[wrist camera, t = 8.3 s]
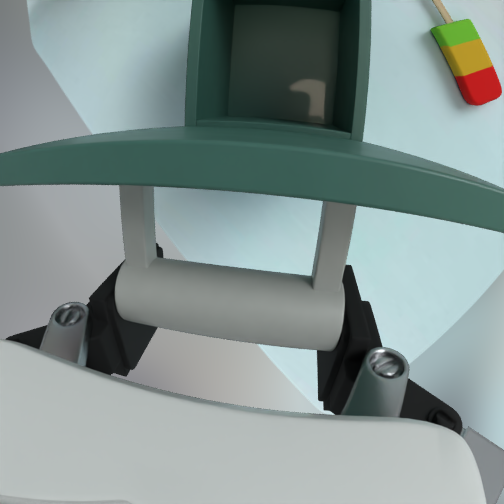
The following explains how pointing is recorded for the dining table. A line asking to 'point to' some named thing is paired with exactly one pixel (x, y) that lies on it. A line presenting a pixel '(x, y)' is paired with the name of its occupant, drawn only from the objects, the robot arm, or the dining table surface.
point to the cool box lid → (260, 182)
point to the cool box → (279, 65)
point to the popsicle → (467, 59)
